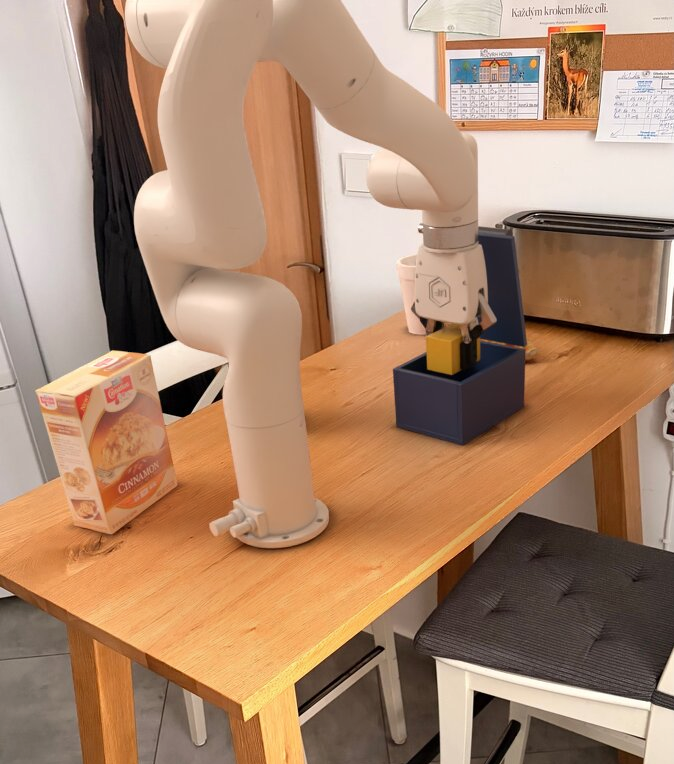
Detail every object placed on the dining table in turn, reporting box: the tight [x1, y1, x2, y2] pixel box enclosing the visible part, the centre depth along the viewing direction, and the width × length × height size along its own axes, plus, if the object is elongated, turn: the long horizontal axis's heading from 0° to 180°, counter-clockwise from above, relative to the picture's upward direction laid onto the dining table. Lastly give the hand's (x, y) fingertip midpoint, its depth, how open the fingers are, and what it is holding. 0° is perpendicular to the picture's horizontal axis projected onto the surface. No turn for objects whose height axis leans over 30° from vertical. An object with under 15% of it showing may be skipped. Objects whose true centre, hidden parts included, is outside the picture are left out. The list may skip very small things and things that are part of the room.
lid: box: [469, 225, 528, 347], centre depth 135 cm, size 17×13×5 cm
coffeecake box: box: [35, 349, 179, 536], centre depth 121 cm, size 15×7×20 cm, turn 151°
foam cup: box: [396, 253, 427, 336], centre depth 172 cm, size 10×9×13 cm
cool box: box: [392, 340, 526, 446], centre depth 138 cm, size 16×13×9 cm
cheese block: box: [425, 323, 480, 375], centre depth 134 cm, size 7×5×5 cm, turn 137°
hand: (453, 362), depth 135 cm, fingers closed on cheese block, 4 cm apart
